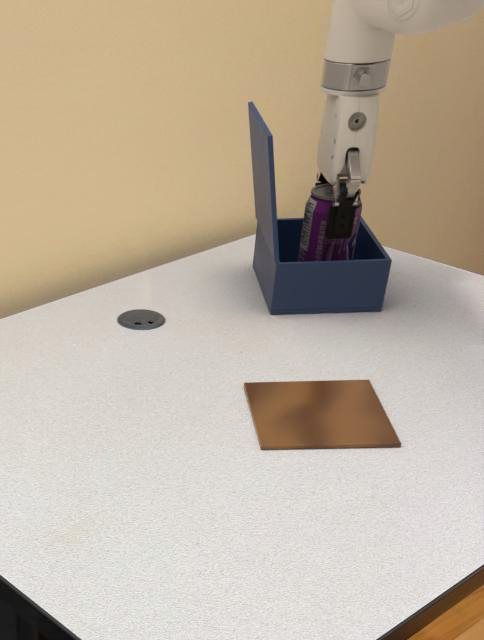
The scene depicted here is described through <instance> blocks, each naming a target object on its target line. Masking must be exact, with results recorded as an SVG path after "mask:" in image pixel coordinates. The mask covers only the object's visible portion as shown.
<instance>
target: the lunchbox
mask: <svg viewBox="0 0 484 640" xmlns="http://www.w3.org/2000/svg"><path fill="white" fill-rule="evenodd" d="M303 219H304V217H283V218H282V217H281V218H277V226H278V246H279V261H274V259H273V257H272V254H271V252H270V250H269V247H268V245H267V243H266V240H265V238H264V235H263V233H262V231H261V228H260V226H259V224H258V221H257V220H256V221H257V222H256V230H255V238H254V249H253V259H252V269H253V271H254V274H255V276H256V277H255V278H256V279H257V282H258V285H259V288H260V290H261V293H262V296H263V299H264V302H265V304H266V306H267V309H268V313H269V315H270V316H271V315H299V314H300V315H301V314H305V315H306V314H334V313H335V314H337V313H338V314H339V313H366V312H367V313H369V312H372V313H373V312H382V310H383V307H384V301H385V295H386V291H387V286H388V281H389V278H390V277H389V276H390V271H391V267H392V262H393V261H392V258H391V257H390V255H389V254H388V252H387V251H386V249H385V248H384V247H383V245H382V243H380V241H379V239H378V238H377V237H376V235H375V234H374V232H373V231H372V229H371V228H370V227H369V225H368V224H367V222H366V221H365V220H364V217H362V216H361V217H360V222H359V228H358V234H357V239H356V245H355V251H354V256H353V260H338V261H309V262H298V255H299V247H300V240H301V233H302V226H303Z"/></svg>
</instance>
